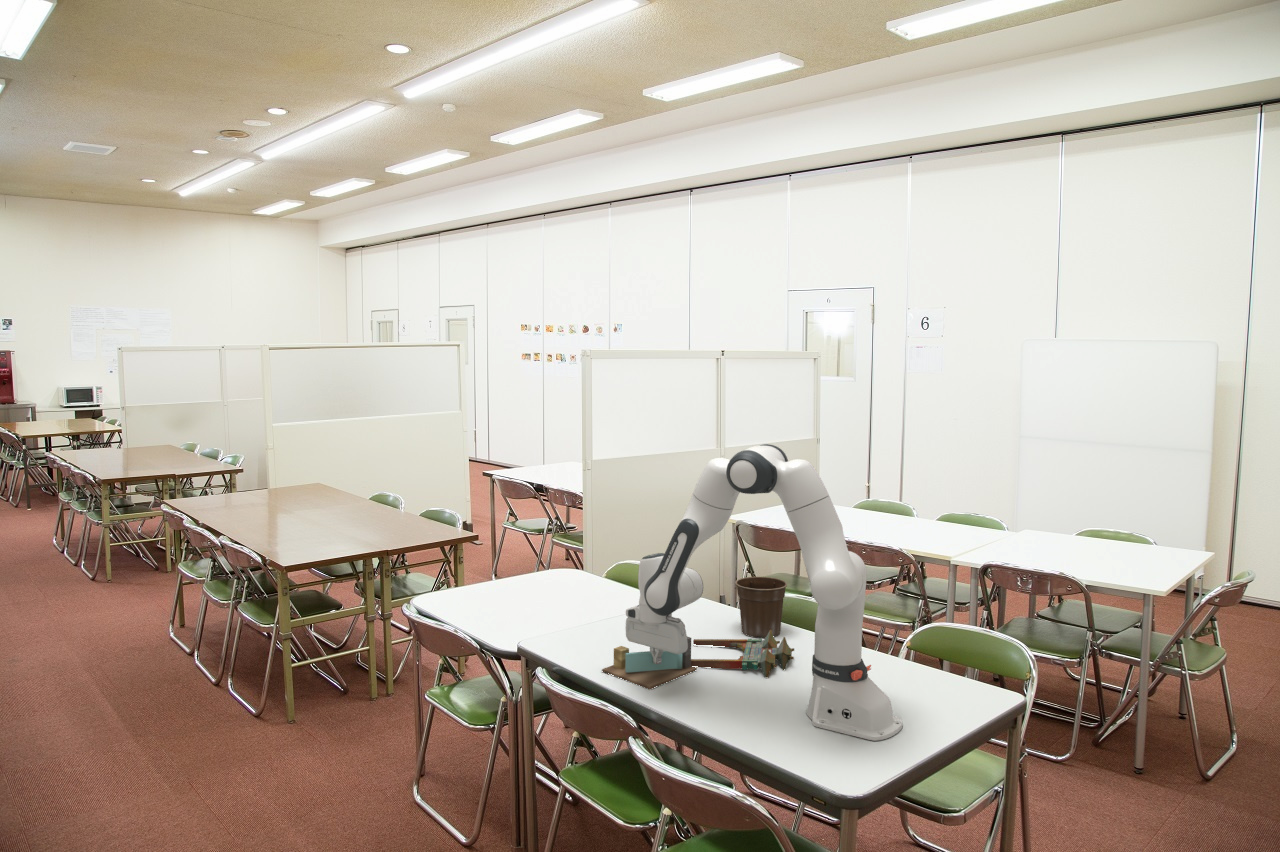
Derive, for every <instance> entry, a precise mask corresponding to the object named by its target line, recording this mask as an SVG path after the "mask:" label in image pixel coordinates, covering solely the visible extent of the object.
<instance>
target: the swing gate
mask: <svg viewBox="0 0 1280 852" xmlns="http://www.w3.org/2000/svg"><path fill="white" fill-rule="evenodd" d="M652 657H653V656H652V654H651V652H650V650H649V651H638V652H636V651H634V652H633V651H632V652H629V653H626V663H625V671H626V673H628V672H640V671H652V670H664V669H682V654H674V653H670V652H667V651H663V653H662V655H661V657H662V663H661V664H654V663H653V662H652V661H653V660H652Z"/></svg>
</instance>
